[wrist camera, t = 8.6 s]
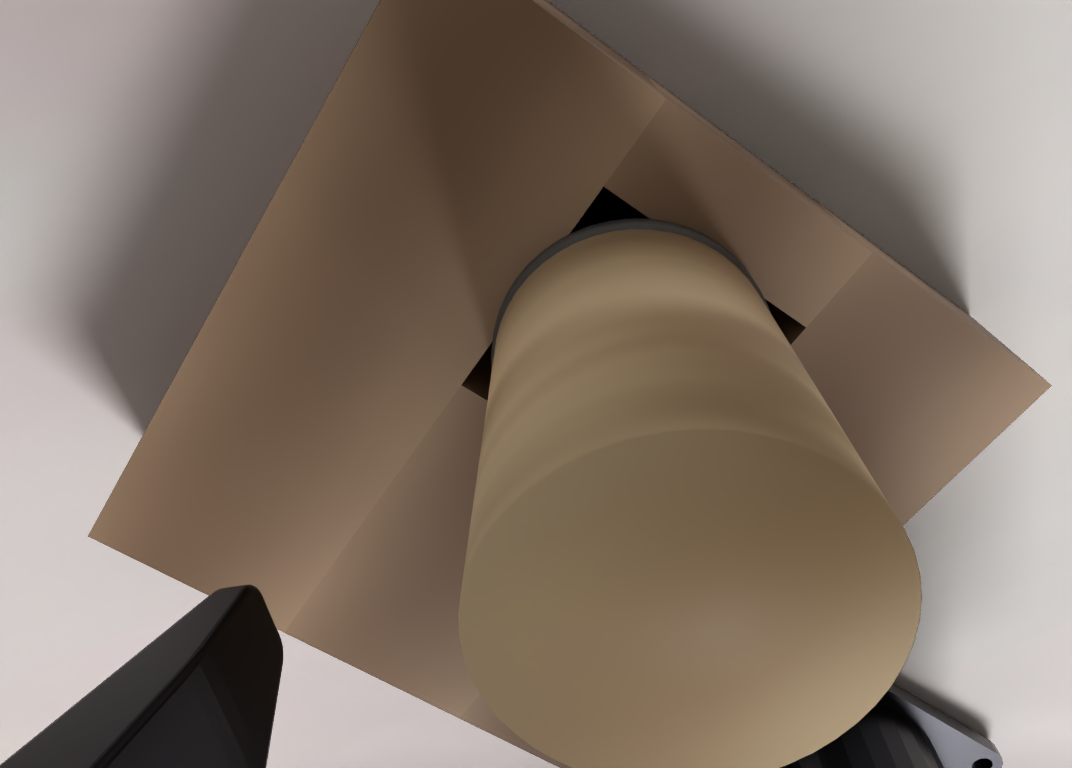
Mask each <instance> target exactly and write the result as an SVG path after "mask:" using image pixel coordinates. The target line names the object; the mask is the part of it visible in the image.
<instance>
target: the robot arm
mask: <svg viewBox="0 0 1072 768" xmlns="http://www.w3.org/2000/svg"><path fill="white" fill-rule="evenodd" d="M282 665H283V646H282V642H281V638H280V636H279V633H278V631H277V629H276V626H275V624H274V621H273V619H272V617H271V614H270V612H269V610H268V607H267V605H266V603H265V600H264V598H263V596H262V594H261V592H260V590H259V589H258V588H257V587H255V586H253V585H251V584H248V585H241V586H234V587H227V588H221V589H218V590H216V591H215V592H213V593H212V594H211V595H209V596H208V597H207V598H206V599H205V600H203V601H202V602H201V603H200V604H198V605H197V606H196V607H195V608H193V609H192V610H191V611H190V612H188V613H187V614H186V615H185V616H184V617H182V618H181V619H180V620H179V621H177V622H176V623H175V624H174V625H172V626H171V627H170V628H169V629H168V630H166V631H165V632H164V633H163V634H161V635H160V636H159V637H158V638H156V639H155V640H154V641H153V642H151V643H150V644H149V645H148V646H147V647H145V648H144V649H143V650H142V651H140V652H139V653H138V654H137V655H135V656H134V657H133V658H132V659H130V660H129V661H128V662H127V663H126V664H124V665H123V666H122V667H121V668H119V669H118V670H117V671H116V672H114V673H113V674H112V675H111V676H109V677H108V678H107V679H106V680H105V681H103V682H102V683H101V684H100V685H98V686H97V687H96V688H95V689H93V690H92V691H91V692H90V693H89V694H87V695H86V696H85V697H84V698H82V699H81V700H80V701H79V702H77V703H76V704H75V705H74V706H72V707H71V708H70V709H69V710H68V711H66V712H65V713H64V714H63V715H61V716H60V717H59V718H58V719H56V720H55V721H54V722H53V723H51V724H50V725H49V726H48V727H47V728H45V729H44V730H43V731H42V732H40V733H39V734H38V735H37V736H35V737H34V738H33V739H32V740H31V741H29V742H28V743H27V744H26V745H24V746H23V747H22V748H21V749H19V750H18V751H17V752H16V753H14V754H13V755H12V756H11V757H10V758H8V759H7V760H6V761H5V762H3V763H2V764H1V765H0V768H266V765H267V759H268V753H269V746H270V740H271V734H272V728H273V721H274V715H275V709H276V702H277V696H278V690H279V684H280V677H281V671H282ZM1002 765H1003V761H1002V757H1001V756H1000V754H999V752H998V750H997V749H996V747H995V745H994V744H993V743H992V742H991V741H990V740H988V739H986V738H985V737H983V736H981V735H979V734H978V733H976V732H974V731H973V730H971V729H969V728H967V727H966V726H964V725H962V724H961V723H959V722H957V721H955V720H954V719H952V718H950V717H949V716H947V715H945V714H943V713H942V712H940V711H938V710H937V709H935V708H933V707H931V706H930V705H928V704H926V703H925V702H923V701H921V700H919V699H918V698H916V697H914V696H913V695H911V694H909V693H907V692H906V691H904V690H902V689H901V688H899V687H897V686H895V685H894V684H892V686H891V687H890V688H889V690H888V691H887V692H886V693H885V694H884V696H883V697H882V698H881V699H880V701H879V702H878V703H877V704H876V705H875V706H874V707H873V708H872V709H871V710H870V711H869V712H868V713H867V714H866V715H865V716H864V717H863V718H862V719H861V720H860V721H859V722H858V723H857V724H855V725H854V726H853V727H851V728H850V729H849V730H847V731H846V732H845V733H843V734H842V735H841V736H839V737H838V738H837V739H835V740H834V741H832V742H830V743H829V744H827V745H825V746H824V747H822V748H820V749H819V750H817V751H815V752H814V753H812V754H810V755H808V756H805V757H803V758H801V759H799V760H797V761H795V762H793V763H791V764H788V765H786V766H783V767H780V768H1002Z"/></svg>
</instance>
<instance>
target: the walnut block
mask: <svg viewBox="0 0 1072 768" xmlns="http://www.w3.org/2000/svg"><path fill="white" fill-rule="evenodd" d="M603 187H605V188H607V189H608V190H609V191H611V192H612V193H614V194H615V195H617V196H618V197H619V198H621V199H622V200H624V201H625V202H627V203H628V204H630V205H631V206H632V207H634V208H635V209H637V210H638V211H640V212H641V213H642V214H644V215H645V216H647V217H648V218H650V219H655V220H662V221H669V222H672V223H676V224H679V225H683V226H686V227H689V228H691V229H693V230H696V231H698V232H700V233H703V234H705V235H706V236H708V237H710V238H711V239H713V240H715V241H716V242H718V243H720V244H721V245H722V246H723V247H724V248H726V249H727V250H728V251H729V252H731V253H732V254H733V255H734V256H735V257H736V258H737V259H738V260H739V261H740V262H741V264H742V265H743V266H744V267H745V268H746V269H747V271H748V272H749V274H750V275H751V277H752V278H753V280H754V281H755V283H756V284H757V286H758V287H759V289H760V291H761V292H762V294H763V297H764V299H765V301H766V303H767V305H768V307H769V310H770V313H771V315H772V316H773V318H774V320H775V321H776V323H777V324H778V326H779V328H780V329H781V331H782V332H783V334H784V336H785V337H786V339H787V340H788V342H789V344H790V345H791V347H792V349H793V350H794V352H795V353H796V355H797V357H798V358H799V360H800V361H801V363H802V365H803V366H804V368H805V369H806V371H807V373H808V374H809V376H810V378H811V379H812V381H813V382H814V384H815V386H816V387H817V389H818V390H819V392H820V394H821V395H822V397H823V398H824V400H825V402H826V403H827V405H828V407H829V408H830V410H831V411H832V413H833V415H834V416H835V418H836V419H837V421H838V423H839V424H840V426H841V427H842V429H843V431H844V432H845V434H846V436H847V437H848V439H849V440H850V442H851V444H852V445H853V447H854V448H855V450H856V452H857V453H858V455H859V456H860V458H861V460H862V461H863V463H864V465H865V466H866V468H867V469H868V471H869V473H870V474H871V476H872V477H873V479H874V481H875V482H876V484H877V485H878V487H879V489H880V490H881V492H882V494H883V495H884V497H885V498H886V500H887V502H888V503H889V505H890V506H891V508H892V510H893V511H894V513H895V514H896V516H897V518H898V519H899V521H900V523H901V524H902V526H903V525H904V524H905V523H906V522H907V521H908V520H909V519H910V518H911V517H912V516H913V515H915V514H916V513H917V512H918V511H919V510H920V509H921V508H922V507H923V506H924V505H925V504H926V503H927V502H928V501H929V500H930V499H932V498H933V497H934V496H935V495H936V494H937V493H938V492H939V491H940V490H941V489H942V488H943V487H944V486H945V485H946V484H948V483H949V482H950V481H951V480H952V479H953V478H954V477H955V476H956V475H957V474H958V473H959V472H960V471H961V470H962V469H963V468H965V467H966V466H967V465H968V464H969V463H970V462H971V461H972V460H973V459H974V458H975V457H976V456H977V455H978V454H979V453H980V452H982V451H983V450H984V449H985V448H986V447H987V446H988V445H989V444H990V443H991V442H992V441H993V440H994V439H995V438H996V437H997V436H999V435H1000V434H1001V433H1002V432H1003V431H1004V430H1005V429H1006V428H1007V427H1008V426H1009V425H1010V424H1011V423H1012V422H1013V421H1015V420H1016V419H1017V418H1018V417H1019V416H1020V415H1021V414H1022V413H1023V412H1024V411H1025V410H1026V409H1027V408H1028V407H1029V406H1030V405H1032V404H1033V403H1034V402H1035V401H1036V400H1037V399H1038V398H1039V397H1040V396H1041V395H1042V394H1043V393H1044V392H1045V391H1046V390H1047V389H1049V388H1050V387H1051V386H1052V385H1051V384H1049V383H1048V382H1047V381H1046V380H1045V379H1044V378H1042V377H1041V376H1040V375H1039V374H1038V373H1037V372H1035V371H1034V370H1033V369H1032V368H1031V367H1030V366H1028V365H1027V364H1026V363H1025V362H1024V361H1022V360H1021V359H1020V358H1019V357H1018V356H1017V355H1015V354H1014V353H1013V352H1012V351H1011V350H1010V349H1008V348H1007V347H1006V346H1005V345H1004V344H1003V343H1001V342H1000V341H999V340H998V339H997V338H996V337H994V336H993V335H992V334H991V333H990V332H988V331H987V330H986V329H985V328H984V327H983V326H981V325H980V324H979V323H978V322H977V321H976V320H974V319H973V318H972V317H971V316H969V315H968V314H967V313H965V312H964V311H963V310H961V309H960V308H959V307H957V306H956V305H955V304H953V303H952V302H951V301H949V300H948V299H947V298H945V297H944V296H943V295H941V294H940V293H939V292H937V291H936V290H935V289H933V288H932V287H931V286H929V285H928V284H926V283H925V282H924V281H922V280H921V279H920V278H918V277H917V276H916V275H914V274H913V273H912V272H910V271H909V270H908V269H906V268H905V267H904V266H902V265H901V264H900V263H898V262H897V261H896V260H894V259H893V258H892V257H890V256H889V255H888V254H886V253H885V252H884V251H882V250H881V249H879V248H878V247H877V246H875V245H874V244H873V243H871V242H870V241H869V240H867V239H866V238H865V237H863V236H862V235H861V234H859V233H858V232H857V231H855V230H854V229H853V228H851V227H850V226H849V225H847V224H846V223H845V222H843V221H842V220H841V219H839V218H838V217H837V216H835V215H834V214H832V213H831V212H830V211H828V210H827V209H826V208H824V207H823V206H822V205H820V204H819V203H818V202H816V201H815V200H814V199H812V198H811V197H810V196H808V195H807V194H806V193H804V192H803V191H802V190H800V189H799V188H798V187H796V186H795V185H794V184H792V183H791V182H790V181H788V180H787V179H786V178H784V177H783V176H781V175H780V174H779V173H777V172H776V171H775V170H773V169H772V168H771V167H769V166H768V165H767V164H765V163H764V162H763V161H761V160H760V159H759V158H757V157H756V156H755V155H753V154H752V153H751V152H749V151H748V150H747V149H745V148H744V147H743V146H741V145H740V144H739V143H737V142H736V141H734V140H733V139H732V138H730V137H729V136H728V135H726V134H725V133H724V132H722V131H721V130H720V129H718V128H717V127H716V126H714V125H713V124H712V123H710V122H709V121H708V120H706V119H705V118H704V117H702V116H701V115H700V114H698V113H697V112H696V111H694V110H693V109H692V108H690V107H689V106H687V105H686V104H685V103H683V102H682V101H681V100H679V99H678V98H677V97H675V96H674V95H673V94H671V93H670V92H669V91H667V90H666V89H665V88H663V87H662V86H661V85H659V84H658V83H657V82H655V81H654V80H653V79H651V78H650V77H649V76H647V75H646V74H645V73H643V72H642V71H640V70H639V69H638V68H636V67H635V66H634V65H632V64H631V63H630V62H628V61H627V60H626V59H624V58H623V57H622V56H620V55H619V54H618V53H616V52H615V51H614V50H612V49H611V48H610V47H608V46H607V45H606V44H604V43H603V42H602V41H600V40H599V39H598V38H596V37H595V36H594V35H592V34H591V33H589V32H588V31H587V30H585V29H584V28H583V27H581V26H580V25H579V24H577V23H576V22H575V21H573V20H572V19H571V18H569V17H568V16H567V15H565V14H564V13H563V12H561V11H560V10H559V9H557V8H556V7H555V6H553V5H552V4H551V3H549V2H548V1H547V0H380V2H379V4H378V6H377V8H376V9H375V11H374V13H373V15H372V17H371V19H370V20H369V22H368V24H367V26H366V28H365V30H364V31H363V33H362V35H361V37H360V39H359V41H358V42H357V44H356V46H355V48H354V50H353V52H352V53H351V55H350V57H349V59H348V61H347V63H346V64H345V66H344V68H343V70H342V72H341V74H340V75H339V77H338V79H337V81H336V83H335V85H334V86H333V88H332V90H331V92H330V94H329V96H328V97H327V99H326V101H325V103H324V105H323V107H322V108H321V110H320V112H319V114H318V116H317V118H316V119H315V121H314V123H313V125H312V127H311V129H310V130H309V132H308V134H307V136H306V138H305V139H304V141H303V143H302V145H301V147H300V149H299V150H298V152H297V154H296V156H295V158H294V160H293V161H292V163H291V165H290V167H289V169H288V171H287V172H286V174H285V176H284V178H283V180H282V182H281V183H280V185H279V187H278V189H277V191H276V193H275V194H274V196H273V198H272V200H271V202H270V204H269V205H268V207H267V209H266V211H265V213H264V215H263V216H262V218H261V220H260V222H259V224H258V226H257V227H256V229H255V231H254V233H253V235H252V237H251V238H250V240H249V242H248V244H247V246H246V248H245V249H244V251H243V253H242V255H241V257H240V259H239V260H238V262H237V264H236V266H235V268H234V270H233V271H232V273H231V275H230V277H229V279H228V280H227V282H226V284H225V286H224V288H223V290H222V291H221V293H220V295H219V297H218V299H217V301H216V302H215V304H214V306H213V308H212V310H211V312H210V313H209V315H208V317H207V319H206V321H205V323H204V324H203V326H202V328H201V330H200V332H199V334H198V335H197V337H196V339H195V341H194V343H193V345H192V346H191V348H190V350H189V352H188V354H187V356H186V357H185V359H184V361H183V363H182V365H181V367H180V368H179V370H178V372H177V374H176V376H175V378H174V379H173V381H172V383H171V385H170V387H169V389H168V390H167V392H166V394H165V396H164V398H163V400H162V401H161V403H160V405H159V407H158V409H157V411H156V412H155V414H154V416H153V418H152V420H151V422H150V423H149V425H148V427H147V429H146V431H145V432H144V434H143V436H142V438H141V440H140V442H139V443H138V445H137V447H136V449H135V451H134V453H133V454H132V456H131V458H130V460H129V462H128V464H127V465H126V467H125V469H124V471H123V473H122V475H121V476H120V478H119V480H118V482H117V484H116V486H115V487H114V489H113V491H112V493H111V495H110V497H109V498H108V500H107V502H106V504H105V506H104V508H103V509H102V511H101V513H100V515H99V517H98V519H97V520H96V522H95V524H94V526H93V528H92V530H91V531H90V533H89V535H88V537H90V538H92V539H95V540H97V541H99V542H101V543H103V544H105V545H107V546H109V547H111V548H113V549H115V550H117V551H119V552H121V553H123V554H125V555H127V556H129V557H131V558H133V559H135V560H137V561H139V562H141V563H143V564H146V565H148V566H150V567H152V568H154V569H156V570H158V571H160V572H162V573H164V574H166V575H168V576H170V577H172V578H174V579H176V580H178V581H180V582H182V583H184V584H186V585H188V586H190V587H192V588H194V589H197V590H199V591H201V592H203V593H205V594H207V595H211V594H212V593H213V592H215V591H216V590H218V589H221V588H227V587H234V586H241V585H248V584H251V585H253V586H255V587H257V588H258V589H259V590H260V592H261V594H262V596H263V598H264V600H265V603H266V605H267V607H268V610H269V612H270V614H271V617H272V619H273V621H274V624H275V626H276V629H278V630H280V631H282V632H284V633H286V634H288V635H290V636H292V637H294V638H296V639H299V640H301V641H303V642H305V643H307V644H309V645H311V646H313V647H315V648H317V649H319V650H321V651H323V652H325V653H327V654H329V655H331V656H333V657H335V658H337V659H339V660H341V661H343V662H345V663H348V664H350V665H352V666H354V667H356V668H358V669H360V670H362V671H364V672H366V673H368V674H370V675H372V676H374V677H376V678H378V679H380V680H382V681H384V682H386V683H388V684H390V685H392V686H394V687H396V688H399V689H401V690H403V691H405V692H407V693H409V694H411V695H413V696H415V697H417V698H419V699H421V700H423V701H425V702H427V703H429V704H431V705H433V706H435V707H437V708H439V709H441V710H443V711H445V712H447V713H450V714H452V715H454V716H456V717H458V718H460V719H462V720H464V721H466V722H468V723H470V724H472V725H474V726H476V727H478V728H480V729H482V730H484V731H486V732H488V733H490V734H492V735H494V736H496V737H498V738H501V739H503V740H505V741H507V742H509V743H511V744H513V745H515V746H517V747H519V748H521V749H523V750H525V751H527V752H529V753H531V754H533V755H535V756H537V757H539V758H541V759H543V760H545V761H547V762H550V763H552V764H554V765H556V766H558V767H560V768H573V767H570V766H568V765H566V764H563V763H561V762H559V761H556V760H555V759H553V758H551V757H549V756H547V755H546V754H544V753H542V752H540V751H538V750H537V749H535V748H534V747H532V746H531V745H529V744H528V743H527V742H525V741H524V740H523V739H521V738H520V737H519V736H517V735H516V734H515V733H514V732H513V731H511V730H510V729H509V728H508V727H507V726H506V725H505V724H504V723H503V722H502V721H501V720H500V719H499V718H498V717H497V716H496V715H495V713H494V712H493V711H492V710H491V708H490V707H489V706H488V705H487V703H486V702H485V701H484V699H483V698H482V696H481V694H480V693H479V691H478V689H477V688H476V686H475V684H474V682H473V681H472V678H471V676H470V673H469V671H468V668H467V666H466V663H465V661H464V657H463V652H462V648H461V643H460V638H459V621H458V611H459V603H460V595H461V588H462V581H463V573H464V566H465V559H466V552H467V545H468V538H469V530H470V523H471V516H472V509H473V502H474V495H475V487H476V480H477V473H478V466H479V459H480V451H481V444H482V437H483V430H484V423H485V416H486V408H487V401H488V394H489V387H490V380H491V373H492V372H491V351H492V343H493V335H494V328H495V324H496V321H497V317H498V313H499V310H500V308H501V306H502V303H503V301H504V299H505V296H506V294H507V293H508V291H509V289H510V288H511V286H512V285H513V283H514V281H515V280H516V278H517V277H518V276H519V275H520V273H521V272H522V271H523V270H524V269H525V267H526V266H527V265H528V264H529V263H530V262H531V261H532V260H533V259H534V258H535V257H537V256H538V255H539V254H540V253H541V252H542V251H544V250H545V249H546V248H548V247H549V246H551V245H552V244H553V243H555V242H556V241H558V240H560V239H562V238H564V237H565V236H567V235H569V234H570V233H571V231H572V230H573V228H574V227H575V226H576V224H577V223H578V221H579V220H580V219H581V217H582V216H583V214H584V213H585V212H586V210H587V209H588V207H589V206H590V205H591V203H592V202H593V200H594V199H595V198H596V196H597V195H598V194H599V192H600V191H601V189H602V188H603Z"/></svg>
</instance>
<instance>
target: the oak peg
mask: <svg viewBox="0 0 1072 768" xmlns="http://www.w3.org/2000/svg"><path fill="white" fill-rule="evenodd" d="M491 372H492V373H491V380H490V387H489V394H488V401H487V408H486V416H485V423H484V430H483V437H482V444H481V451H480V459H479V466H478V473H477V480H476V487H475V495H474V502H473V509H472V516H471V523H470V530H469V538H468V545H467V552H466V559H465V566H464V573H463V581H462V588H461V595H460V603H459V611H458V621H459V638H460V643H461V648H462V652H463V657H464V661H465V663H466V666H467V668H468V671H469V673H470V676H471V678H472V681H473V682H474V684H475V686H476V688H477V689H478V691H479V693H480V694H481V696H482V698H483V699H484V701H485V702H486V703H487V705H488V706H489V707H490V708H491V710H492V711H493V712H494V713H495V715H496V716H497V717H498V718H499V719H500V720H501V721H502V722H503V723H504V724H505V725H506V726H507V727H508V728H509V729H510V730H511V731H513V732H514V733H515V734H516V735H517V736H519V737H520V738H521V739H523V740H524V741H525V742H527V743H528V744H529V745H531V746H532V747H534V748H535V749H537V750H538V751H540V752H542V753H544V754H546V755H547V756H549V757H551V758H553V759H555V760H556V761H559V762H561V763H563V764H566V765H568V766H570V767H573V768H780V767H783V766H786V765H788V764H791V763H793V762H795V761H797V760H799V759H801V758H803V757H805V756H808V755H810V754H812V753H814V752H815V751H817V750H819V749H820V748H822V747H824V746H825V745H827V744H829V743H830V742H832V741H834V740H835V739H837V738H838V737H839V736H841V735H842V734H843V733H845V732H846V731H847V730H849V729H850V728H851V727H853V726H854V725H855V724H857V723H858V722H859V721H860V720H861V719H862V718H863V717H864V716H865V715H866V714H867V713H868V712H869V711H870V710H871V709H872V708H873V707H874V706H875V705H876V704H877V703H878V702H879V701H880V699H881V698H882V697H883V696H884V694H885V693H886V692H887V691H888V690H889V688H890V687H891V686H892V684H893V683H894V681H895V679H896V678H897V676H898V674H899V673H900V671H901V670H902V668H903V666H904V664H905V662H906V660H907V657H908V655H909V653H910V651H911V648H912V646H913V644H914V640H915V636H916V632H917V629H918V625H919V621H920V611H921V600H922V593H921V581H920V572H919V568H918V564H917V560H916V557H915V553H914V549H913V547H912V545H911V543H910V541H909V538H908V536H907V534H906V532H905V530H904V528H903V526H902V524H901V523H900V521H899V519H898V518H897V516H896V514H895V513H894V511H893V510H892V508H891V506H890V505H889V503H888V502H887V500H886V498H885V497H884V495H883V494H882V492H881V490H880V489H879V487H878V485H877V484H876V482H875V481H874V479H873V477H872V476H871V474H870V473H869V471H868V469H867V468H866V466H865V465H864V463H863V461H862V460H861V458H860V456H859V455H858V453H857V452H856V450H855V448H854V447H853V445H852V444H851V442H850V440H849V439H848V437H847V436H846V434H845V432H844V431H843V429H842V427H841V426H840V424H839V423H838V421H837V419H836V418H835V416H834V415H833V413H832V411H831V410H830V408H829V407H828V405H827V403H826V402H825V400H824V398H823V397H822V395H821V394H820V392H819V390H818V389H817V387H816V386H815V384H814V382H813V381H812V379H811V378H810V376H809V374H808V373H807V371H806V369H805V368H804V366H803V365H802V363H801V361H800V360H799V358H798V357H797V355H796V353H795V352H794V350H793V349H792V347H791V345H790V344H789V342H788V340H787V339H786V337H785V336H784V334H783V332H782V331H781V329H780V328H779V326H778V324H777V323H776V321H775V320H774V318H773V316H772V315H771V313H770V310H769V307H768V305H767V303H766V301H765V299H764V297H763V294H762V292H761V291H760V289H759V287H758V286H757V284H756V283H755V281H754V280H753V278H752V277H751V275H750V274H749V272H748V271H747V269H746V268H745V267H744V266H743V265H742V264H741V262H740V261H739V260H738V259H737V258H736V257H735V256H734V255H733V254H732V253H731V252H729V251H728V250H727V249H726V248H724V247H723V246H722V245H721V244H720V243H718V242H716V241H715V240H713V239H711V238H710V237H708V236H706V235H705V234H703V233H700V232H698V231H696V230H693V229H691V228H689V227H686V226H683V225H679V224H676V223H672V222H669V221H662V220H655V219H635V218H629V219H620V220H612V221H607V222H603V223H599V224H595V225H591V226H588V227H586V228H583V229H580V230H578V231H575V232H573V233H571V234H569V235H567V236H565V237H564V238H562V239H560V240H558V241H556V242H555V243H553V244H552V245H551V246H549V247H548V248H546V249H545V250H544V251H542V252H541V253H540V254H539V255H538V256H537V257H535V258H534V259H533V260H532V261H531V262H530V263H529V264H528V265H527V266H526V267H525V269H524V270H523V271H522V272H521V273H520V275H519V276H518V277H517V278H516V280H515V281H514V283H513V285H512V286H511V288H510V289H509V291H508V293H507V294H506V296H505V299H504V301H503V303H502V306H501V308H500V310H499V313H498V317H497V321H496V324H495V328H494V335H493V343H492V351H491Z"/></svg>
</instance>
